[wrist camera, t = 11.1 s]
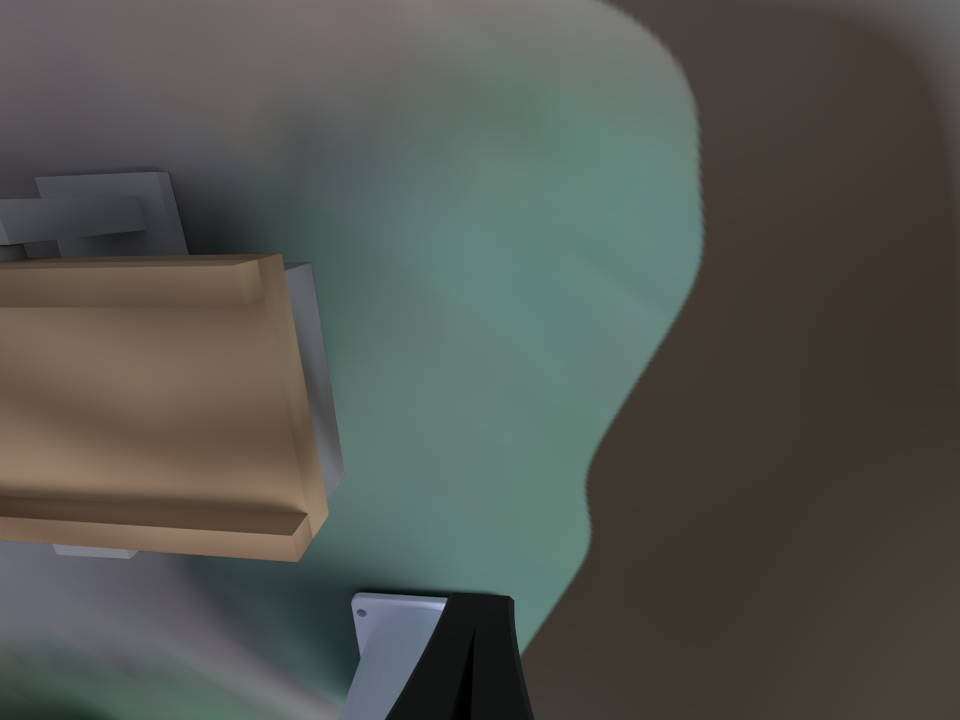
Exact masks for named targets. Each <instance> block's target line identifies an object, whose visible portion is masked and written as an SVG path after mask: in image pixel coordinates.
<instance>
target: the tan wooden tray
mask: <svg viewBox="0 0 960 720" xmlns="http://www.w3.org/2000/svg"><path fill="white" fill-rule="evenodd" d="M344 477H345V472H344V465H343V459H342V453H341V447H340V441H339V434H338V428H337V422H336V416H335V410H334V403H333V397H332V391H331V385H330V379H329V372H328V366H327V360H326V354H325V348H324V341H323V335H322V329H321V323H320V317H319V310H318V304H317V298H316V292H315V286H314V279H313V273H312V267H311V263H283V260H282V254H281V253H270V254H220V255H169V256H119V257H68V258H28V257H27V254H26V252H25V249H24V246H23V244H12V245H0V540H3V541H17V542H30V543H44V544H58V545H71V546H85V547H98V548H112V549H126V550H139V551H153V552H166V553H180V554H194V555H207V556H221V557H234V558H248V559H262V560H275V561H289V562H298V561H299V560H300V558H301V557H302V555H303V554H304V552H305V551H306V549H307V547H308V546H309V544H310V543H311V541H312V540H313V538H314V537H315V535H316V534H317V532H318V531H319V529H320V528H321V526H322V524H323V523H324V521H325V520H326V518H327V517H328V515H329V512H328V507H327V502H328V500H329V499H330V497H331V496H332V494H333V493H334V491H335V490H336V489H337V487H338V486H339V484H340V483H341V481H342V480H343V478H344Z"/></svg>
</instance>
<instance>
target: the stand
mask: <svg viewBox="0 0 960 720" xmlns="http://www.w3.org/2000/svg"><path fill="white" fill-rule="evenodd" d="M34 179H35V182H36V185H37V188H38V191H39V194H40V197H41V198H31V199H0V245H12V244H21V243H30V242H39V241H48V240H56V243H57V246H58V248H59V251H60V254H61V257H62V258H68V257H119V256H169V255H189V252H188V248H187V244H186V240H185V236H184V232H183V229H182V225H181V221H180V217H179V213H178V209H177V205H176V201H175V197H174V193H173V189H172V185H171V181H170V177H169V173H168V172H138V173H116V174H93V175H71V176H49V177H34ZM52 545H53V547H54V549H55V552H56V554H57V555H71V556H88V557H105V558H122V559H131V558H132V557H133V556H134V555H135V554H136V553H137V552H138V551H139V550H126V549H112V548H98V547H85V546H71V545H58V544H52Z"/></svg>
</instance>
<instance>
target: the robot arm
mask: <svg viewBox="0 0 960 720" xmlns="http://www.w3.org/2000/svg"><path fill="white" fill-rule="evenodd" d="M351 606H352V611H353V617H354V623H355V628H356V634H357V640H358V645H359V651H360V657H361V659H360V662H359V665H358V668H357V670H356V673H355V676H354V679H353V681H352V684H351V687H350V690H349V692H348V695H347V698H346V701H345V703H344V706H343V709H342V712H341V714H340V717H339V720H534V716H533V712H532V708H531V704H530V700H529V696H528V692H527V688H526V684H525V680H524V675H523V671H522V666H521V661H520V655H519V649H518V644H517V637H516V629H515V618H514V600H513V599H512V598H511V597H510V596H502V595H486V594H470V593H452V594H451V595H449V596H448V598H440V597H424V596H409V595H393V594H377V593H357V594H355V595H354V597H353V599H352V602H351Z"/></svg>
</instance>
